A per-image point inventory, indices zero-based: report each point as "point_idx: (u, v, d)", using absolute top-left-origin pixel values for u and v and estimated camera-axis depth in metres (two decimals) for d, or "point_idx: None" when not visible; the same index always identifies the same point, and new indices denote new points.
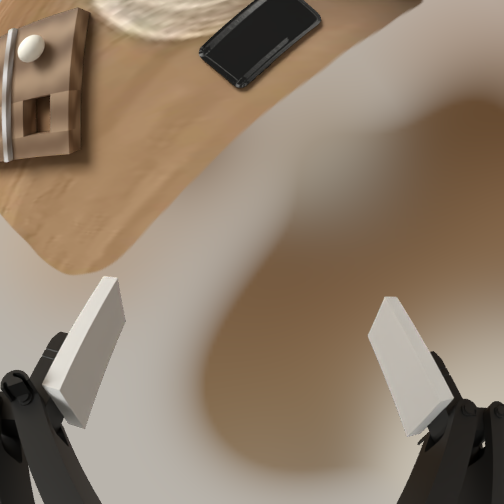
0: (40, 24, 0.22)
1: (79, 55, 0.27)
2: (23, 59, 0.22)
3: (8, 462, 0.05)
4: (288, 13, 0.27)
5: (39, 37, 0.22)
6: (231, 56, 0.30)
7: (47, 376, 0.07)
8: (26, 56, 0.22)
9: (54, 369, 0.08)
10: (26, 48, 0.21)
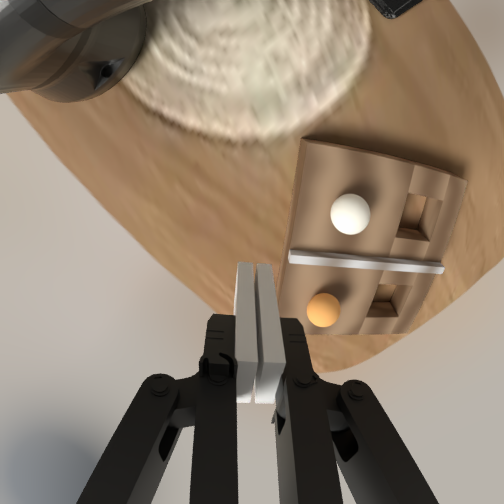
0: (305, 206, 0.30)
1: (366, 151, 0.29)
2: None
3: (155, 462, 0.07)
4: None
5: (343, 198, 0.27)
6: None
7: (237, 352, 0.10)
8: (368, 216, 0.27)
9: (241, 345, 0.10)
10: (361, 215, 0.26)
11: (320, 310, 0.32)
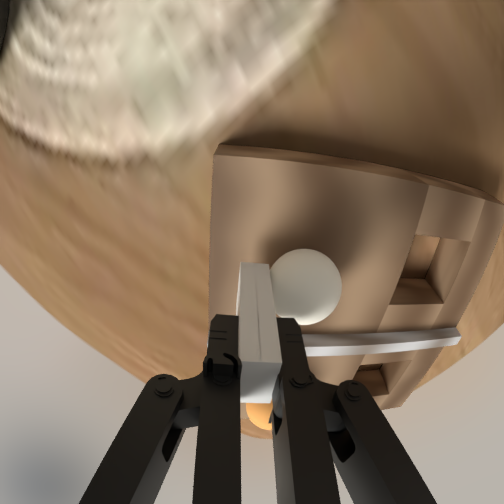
0: (224, 269, 0.17)
1: (340, 160, 0.16)
2: (336, 305, 0.15)
3: (158, 462, 0.07)
4: None
5: (286, 262, 0.14)
6: None
7: (241, 352, 0.10)
8: (337, 296, 0.14)
9: (245, 345, 0.10)
10: (320, 299, 0.14)
11: (261, 414, 0.19)
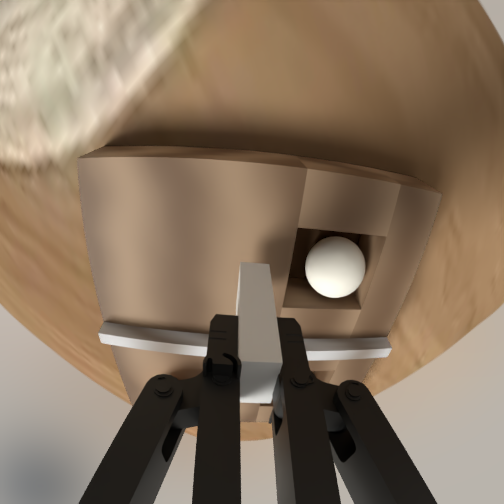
0: (101, 263, 0.17)
1: (208, 151, 0.16)
2: (362, 278, 0.18)
3: (157, 462, 0.07)
4: None
5: (322, 247, 0.18)
6: None
7: (241, 352, 0.10)
8: (363, 270, 0.18)
9: (244, 345, 0.10)
10: (352, 272, 0.17)
11: None
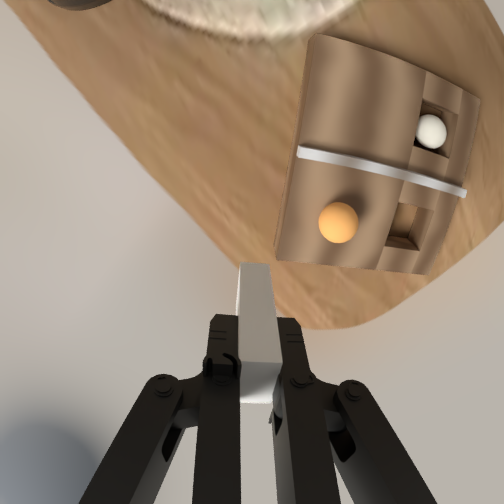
0: (315, 96, 0.24)
1: None
2: (445, 138, 0.26)
3: (157, 462, 0.07)
4: None
5: (423, 115, 0.26)
6: None
7: (241, 352, 0.10)
8: None
9: (244, 345, 0.10)
10: (440, 127, 0.25)
11: (335, 216, 0.26)
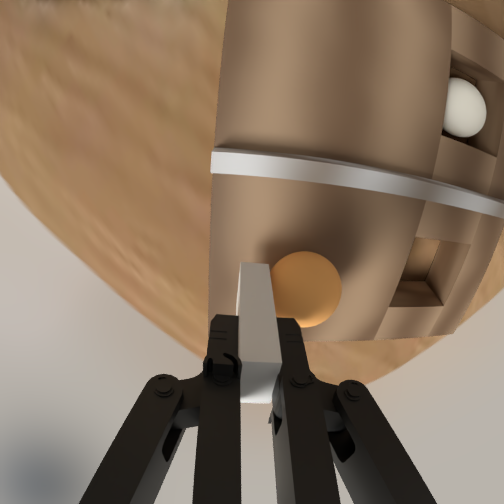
0: (241, 49, 0.11)
1: None
2: (484, 117, 0.12)
3: (158, 462, 0.07)
4: None
5: None
6: None
7: (241, 352, 0.10)
8: (483, 104, 0.12)
9: (245, 345, 0.10)
10: (470, 95, 0.12)
11: (293, 288, 0.14)
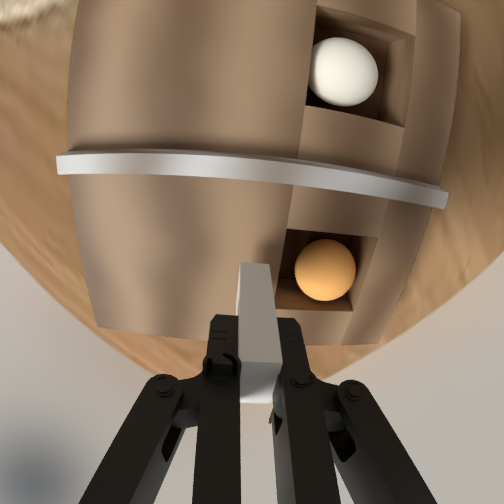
0: (82, 60, 0.11)
1: None
2: (365, 75, 0.12)
3: (158, 462, 0.07)
4: None
5: None
6: None
7: (241, 352, 0.10)
8: (360, 58, 0.11)
9: (245, 345, 0.10)
10: (336, 51, 0.11)
11: (312, 263, 0.17)
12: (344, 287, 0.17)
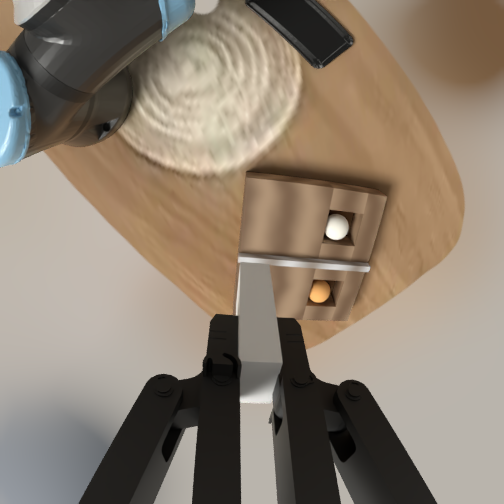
0: (247, 222, 0.42)
1: (295, 179, 0.41)
2: (344, 233, 0.43)
3: (158, 462, 0.07)
4: None
5: None
6: (323, 43, 0.32)
7: (240, 352, 0.10)
8: (343, 228, 0.43)
9: (244, 345, 0.10)
10: (336, 226, 0.43)
11: None
12: (319, 298, 0.49)
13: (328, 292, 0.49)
